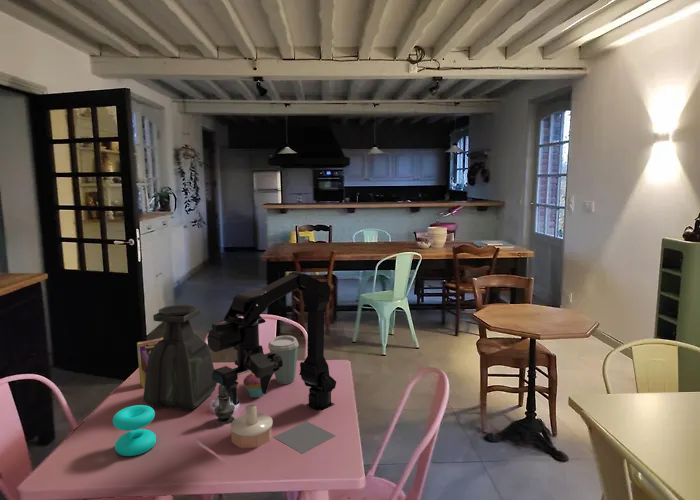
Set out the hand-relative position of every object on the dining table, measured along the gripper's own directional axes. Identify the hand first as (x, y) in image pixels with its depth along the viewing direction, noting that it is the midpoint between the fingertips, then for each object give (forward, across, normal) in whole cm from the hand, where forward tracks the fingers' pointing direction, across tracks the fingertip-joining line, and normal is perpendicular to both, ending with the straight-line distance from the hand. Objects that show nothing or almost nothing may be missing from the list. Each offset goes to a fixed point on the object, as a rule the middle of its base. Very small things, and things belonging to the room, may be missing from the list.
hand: (249, 398), depth 127 cm
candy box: (+12, -1, +57) cm, 58 cm away
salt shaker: (+12, +1, +15) cm, 19 cm away
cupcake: (+12, +18, +23) cm, 32 cm away
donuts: (+12, -23, +19) cm, 32 cm away
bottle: (+12, -1, +37) cm, 39 cm away
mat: (+12, +10, -10) cm, 18 cm away
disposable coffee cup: (+12, +31, +25) cm, 42 cm away
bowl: (+12, 0, 0) cm, 12 cm away
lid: (+8, 0, 0) cm, 8 cm away
